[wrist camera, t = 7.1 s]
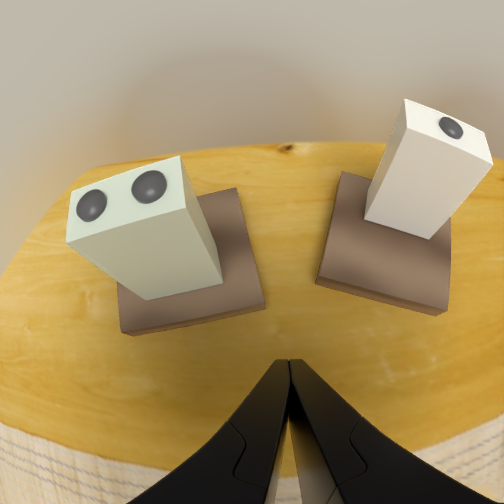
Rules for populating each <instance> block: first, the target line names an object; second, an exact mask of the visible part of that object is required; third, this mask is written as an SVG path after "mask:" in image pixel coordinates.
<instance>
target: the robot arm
mask: <svg viewBox="0 0 504 504" xmlns="http://www.w3.org/2000/svg"><path fill="white" fill-rule="evenodd" d="M288 418H289V427H290V432H291V438H292V444H293V450H294V455H295V461H296V467H297V473H298V478H299V484H300V490H301V496H302V502H303V504H504V503H498V502H495V501H493V500H491V499H489V498H487V497H485V496H483V495H481V494H479V493H477V492H476V491H474V490H472V489H470V488H468V487H467V486H465V485H463V484H461V483H459V482H458V481H456V480H454V479H453V478H451V477H449V476H447V475H446V474H444V473H442V472H441V471H439V470H437V469H436V468H434V467H433V466H431V465H429V464H428V463H426V462H424V461H423V460H421V459H420V458H418V457H417V456H415V455H413V454H412V453H410V452H409V451H407V450H406V449H404V448H403V447H401V446H400V445H398V444H397V443H395V442H394V441H393V440H391V439H390V438H388V437H387V436H386V435H384V434H383V433H382V432H380V431H379V430H378V429H377V428H376V427H374V426H373V425H372V424H371V423H370V422H369V421H368V420H366V419H365V418H364V417H362V416H361V415H360V414H359V413H358V412H357V411H356V410H355V409H354V408H353V407H352V406H351V405H350V404H348V403H347V402H346V401H345V400H344V399H343V398H342V397H341V396H340V395H339V394H338V393H337V392H336V391H335V390H334V389H333V388H331V387H330V386H329V385H328V384H327V383H326V382H325V381H324V380H323V379H322V378H321V377H320V376H319V375H318V374H317V373H316V372H315V371H314V370H313V369H312V368H311V367H310V366H309V365H308V364H307V363H305V362H304V361H303V360H302V359H290V360H289V361H288V360H287V359H276V360H275V361H274V362H273V363H272V365H271V366H270V367H269V369H268V370H267V371H266V373H265V374H264V375H263V377H262V378H261V379H260V381H259V382H258V383H257V384H256V386H255V387H254V388H253V390H252V391H251V392H250V393H249V395H248V396H247V397H246V398H245V400H244V401H243V402H242V403H241V405H240V406H239V407H238V408H237V409H236V411H235V412H234V413H233V414H232V416H231V417H230V418H229V419H228V421H226V422H225V423H224V425H223V426H222V427H221V428H220V429H219V430H218V431H217V433H216V434H215V435H214V436H213V437H212V438H211V439H210V440H209V441H208V442H207V443H206V444H205V445H203V446H202V447H201V448H200V449H199V450H198V451H197V452H196V453H194V454H193V455H192V456H191V457H189V458H188V459H187V460H186V461H184V462H183V463H182V464H181V465H179V466H178V467H177V468H175V469H174V470H173V471H172V472H170V473H169V474H168V475H166V476H165V477H164V478H162V479H161V480H160V481H158V482H157V483H155V484H154V485H153V486H151V487H150V488H149V489H147V490H146V491H144V492H143V493H141V494H140V495H138V496H137V497H136V498H134V499H133V500H131V501H130V502H128V503H127V504H274V500H275V495H276V490H277V485H278V479H279V474H280V468H281V462H282V456H283V450H284V444H285V438H286V432H287V425H288Z"/></svg>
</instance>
